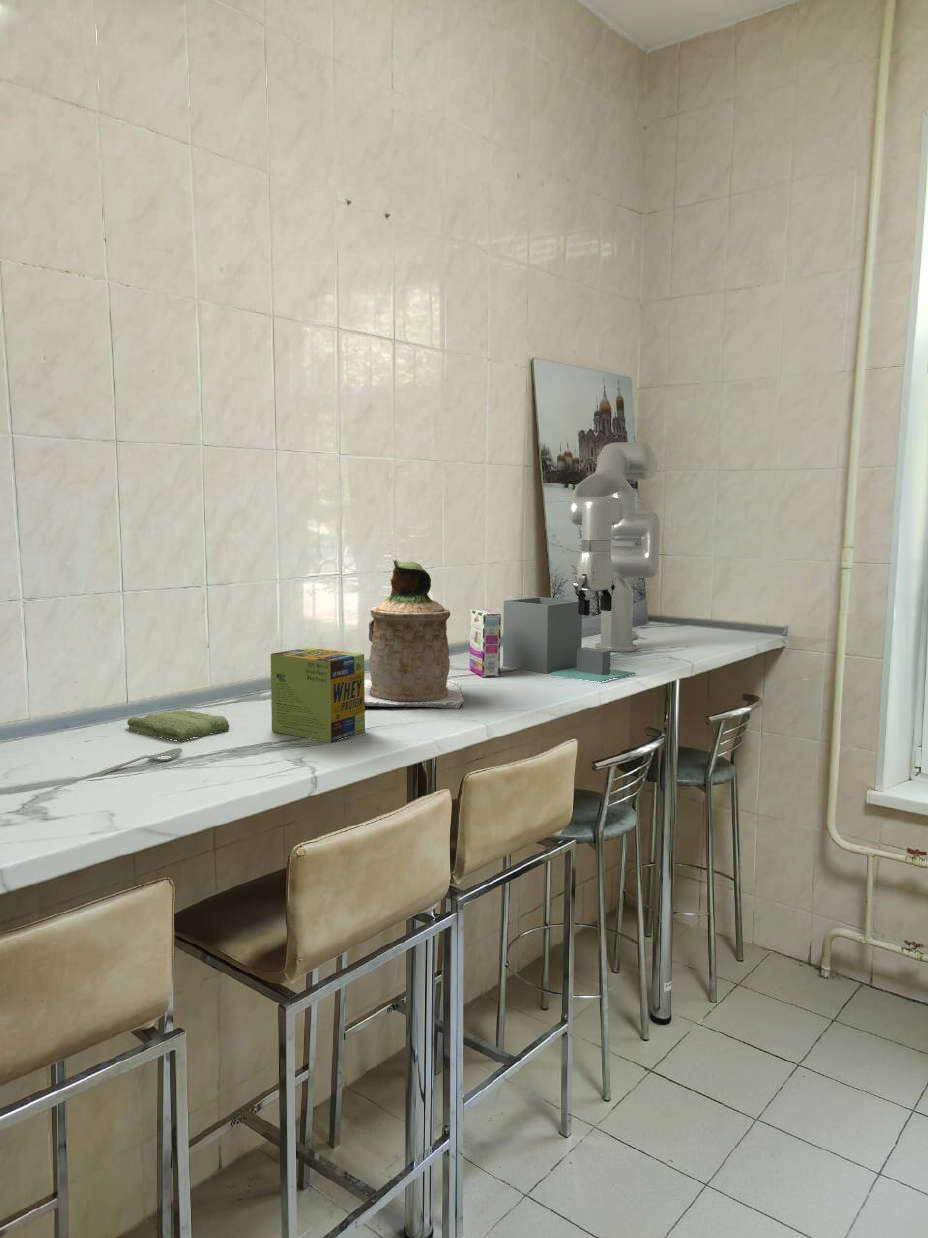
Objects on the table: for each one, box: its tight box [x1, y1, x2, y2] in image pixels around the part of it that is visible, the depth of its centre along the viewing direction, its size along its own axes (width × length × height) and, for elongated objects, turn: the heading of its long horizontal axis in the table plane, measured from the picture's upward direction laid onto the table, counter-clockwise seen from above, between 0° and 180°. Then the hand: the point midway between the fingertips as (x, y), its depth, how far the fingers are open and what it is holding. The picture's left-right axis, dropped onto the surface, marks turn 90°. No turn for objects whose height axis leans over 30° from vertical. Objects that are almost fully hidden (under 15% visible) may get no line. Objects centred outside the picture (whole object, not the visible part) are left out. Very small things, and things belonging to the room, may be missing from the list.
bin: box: [502, 596, 583, 674], centre depth 243 cm, size 15×15×18 cm
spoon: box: [85, 747, 183, 778], centre depth 150 cm, size 4×21×2 cm, turn 140°
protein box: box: [270, 647, 366, 743], centre depth 173 cm, size 10×15×16 cm
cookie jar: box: [364, 558, 465, 709], centre depth 203 cm, size 25×25×32 cm
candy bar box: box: [469, 609, 502, 678], centre depth 232 cm, size 11×5×16 cm, turn 18°
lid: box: [550, 646, 636, 682], centre depth 233 cm, size 16×16×7 cm
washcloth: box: [127, 709, 230, 742], centre depth 174 cm, size 13×18×3 cm
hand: (595, 612), depth 231 cm, fingers open, 9 cm apart
